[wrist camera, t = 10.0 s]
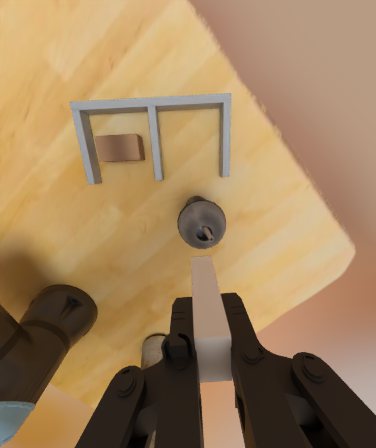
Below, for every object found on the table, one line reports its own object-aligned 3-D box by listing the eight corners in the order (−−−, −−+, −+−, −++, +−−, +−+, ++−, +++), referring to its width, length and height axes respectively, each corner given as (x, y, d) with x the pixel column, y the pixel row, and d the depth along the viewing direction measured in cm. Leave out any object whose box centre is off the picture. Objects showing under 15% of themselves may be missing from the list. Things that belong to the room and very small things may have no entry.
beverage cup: (176, 219, 38) (169, 274, 19) (182, 186, 36) (180, 210, 17) (209, 225, 39) (233, 284, 20) (217, 192, 37) (252, 223, 18)
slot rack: (95, 182, 36) (88, 184, 33) (80, 107, 31) (69, 101, 29) (225, 175, 36) (229, 176, 33) (227, 99, 31) (231, 93, 29)
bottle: (175, 333, 49) (165, 535, 22) (172, 356, 52) (159, 560, 25) (144, 331, 48) (94, 534, 22) (142, 354, 51) (97, 560, 25)
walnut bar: (109, 161, 35) (99, 161, 31) (104, 139, 33) (94, 136, 29) (145, 160, 35) (140, 159, 31) (142, 137, 33) (136, 133, 29)
